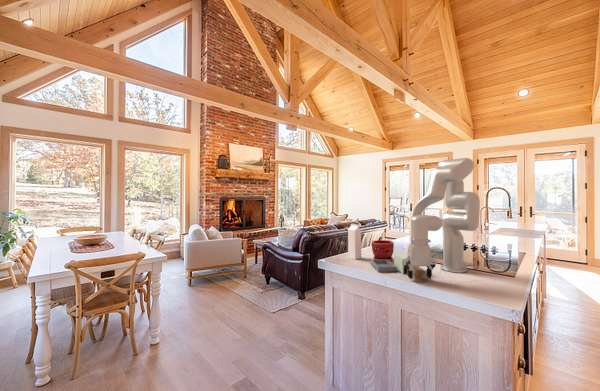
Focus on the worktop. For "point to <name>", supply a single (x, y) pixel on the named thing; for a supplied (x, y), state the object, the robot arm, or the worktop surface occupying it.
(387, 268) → the tray
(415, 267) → the block
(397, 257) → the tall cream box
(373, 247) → the plant pot
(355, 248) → the milk
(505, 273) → the worktop surface
